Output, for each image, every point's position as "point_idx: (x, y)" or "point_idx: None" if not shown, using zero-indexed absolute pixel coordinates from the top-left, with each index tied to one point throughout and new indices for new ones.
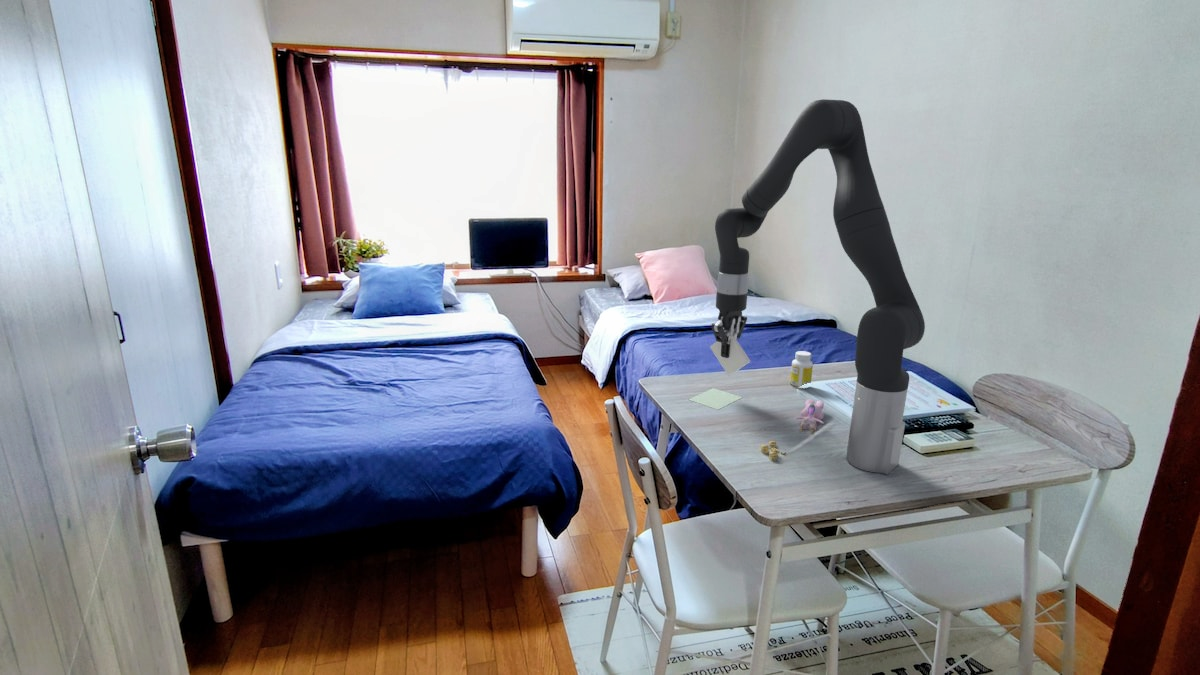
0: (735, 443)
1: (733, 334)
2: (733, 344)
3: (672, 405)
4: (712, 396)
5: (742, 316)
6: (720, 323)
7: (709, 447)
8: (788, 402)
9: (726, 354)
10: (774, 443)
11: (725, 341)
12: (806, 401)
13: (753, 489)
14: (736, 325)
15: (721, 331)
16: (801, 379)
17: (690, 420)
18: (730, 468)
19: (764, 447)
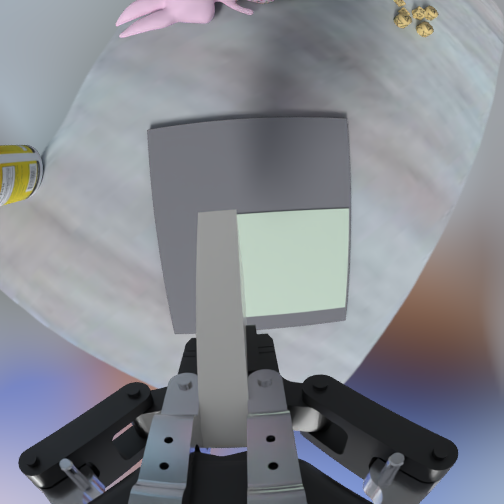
0: (440, 87)
1: (198, 419)
2: (245, 352)
3: (384, 310)
4: (279, 280)
5: (50, 494)
6: (415, 495)
7: (478, 123)
8: (125, 113)
9: (263, 338)
10: (405, 14)
11: (326, 382)
12: (155, 26)
13: (492, 29)
14: (189, 473)
15: (416, 433)
16: (20, 154)
17: (426, 224)
18: (489, 67)
19: (431, 27)
